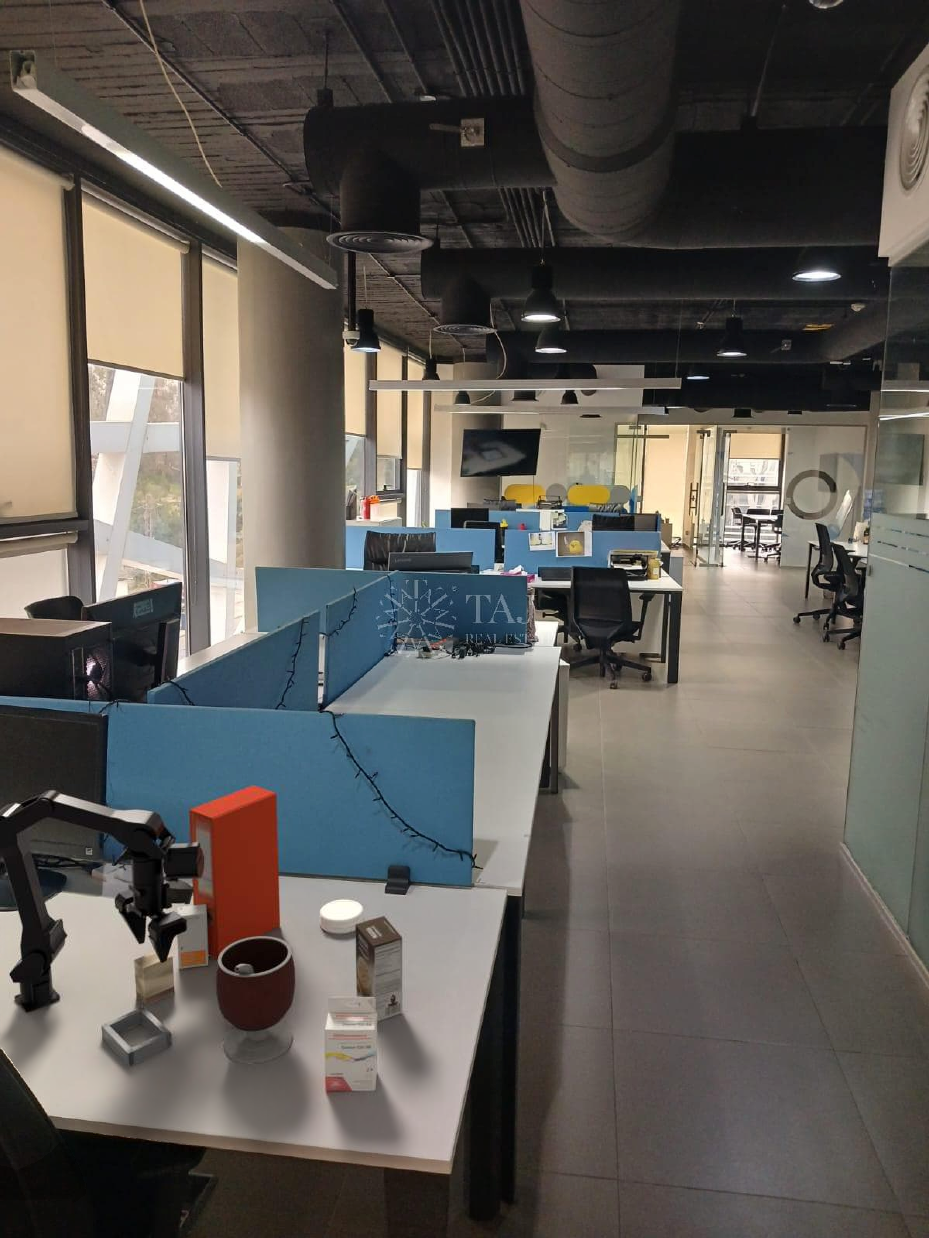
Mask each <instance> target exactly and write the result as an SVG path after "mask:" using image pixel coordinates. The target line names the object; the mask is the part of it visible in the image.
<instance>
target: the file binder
mask: <svg viewBox="0 0 929 1238" xmlns="http://www.w3.org/2000/svg"><path fill="white" fill-rule="evenodd" d="M277 797H278V795H277V793H276V792H274V791H271V790H268V789H265V788H262V787H259V786H257V785H251V786H248V787H245V788H243V789H239V790H237V791H234V792H233V793H230V794H227V795H224V796H222V797H218V798H217V799H213V800H211V801H208V802H206V803H203V804H200V805H198V806H196V807H193V808H190V809H188V812H189V813H188V815H189V816H188V817H189V837H190V838H189V839H190V843H193V842H199V843H200V848H202V851H203V854H204V870H203V875H202V877H201V878H196V879H191V880H192V881H191V882H192V884H191V885H192V887H193V888H194V890H193V894H192V899H193V900H192V901H193V905H203V904H206V905H207V932H208V957H211V958H213V959H215V960H217V961H218V957H219V955H220V953H221V952H222V951H223V950H224V949H225V948H226V947H227V946H229V945H230V944H232V943H234V942H236V941H239V940H242V939H245V938H250V937H257V936H264V935H266V934H267V932H268V933H270V932H271V931H273V930H275V929H276V927H277V928H279V927H280V925H281V917H280V916H281V913H280V912H281V911H280V910H281V909H280V908H281V907H280V880H279V879H280V875H279V874H280V873H279V872H280V870H279V843H278V842H279V839H278V838H279V837H278V836H279V835H278V834H279V833H278V805H277V803H278V802H277V801H278V798H277ZM274 928H275V929H274ZM263 934H264V935H263Z"/></svg>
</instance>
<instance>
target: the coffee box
mask: <svg viewBox="0 0 929 1238" xmlns="http://www.w3.org/2000/svg"><path fill="white" fill-rule="evenodd" d="M355 929H356V930H355V972H356V973H355V974H356V975H355V977H356V978H355V981H356V984H355V985H356V987H355V988H356V989H355V990H356V997H374V998H375V999H376V1013H377V1022H381V1021H383V1020H386V1019H390V1018H391V1017H392V1018H393V1017H394V1016H397V1015H400V1014H403V936H402V935H401V934H400V933H399V931H397V929H396V928H395V927H394V926H393V925H392V924H391V922H390V921H389V919H387V918H386V916H385V915H383V916H379V917H376V918H372V919H368V920H364V922H362V923H358V924H356V925H355Z"/></svg>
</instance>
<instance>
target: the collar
mask: <svg viewBox="0 0 929 1238" xmlns="http://www.w3.org/2000/svg"><path fill="white" fill-rule="evenodd" d="M141 1024H142V1025H143V1026H144V1027H145V1028H146V1029H147V1030H148V1031H149V1032H150V1033H151V1034H152V1035H153V1036H154V1037H152V1038H150V1039H147V1040H146V1041H144V1042H141V1043H139V1044H138V1045H135V1046H133V1047H131V1046H130V1045H128V1043H127V1042H126V1041H125V1040H124V1039H123V1038H122V1037H121V1036H120V1035H119V1034H121V1033H124V1032H125V1031H128V1030H130V1029H132V1028H133V1027H136V1026H138V1025H141ZM172 1035H173V1034H172V1032H171V1031H170V1030H169V1029H168V1028H167V1027H166V1026H165V1025H164V1024H163V1023H162V1022H160V1020H158V1018H157V1017H156V1016H155V1015H154V1014H152V1013H151V1012H150V1011H149V1010H148V1009H147V1008H146V1007H145V1005H144V1006H143V1005H142V1006H141V1007H139V1008H136V1009H134V1010H132V1011H130V1012H127V1013H125V1014H123V1015H121V1016H119V1017H117V1018H114V1019H112V1020H110V1021H109V1022H106V1023H104V1024H102V1025H101V1036H102V1039H103V1040H104V1041H105V1042H106V1043H107V1044H108V1046H109V1047H110V1048H111V1049H112V1050H113V1051H114V1052H115V1053H116V1054H117V1056H119V1058H120V1059H122V1061H123V1062H125V1064H126V1065H127V1066H128V1067H131V1066H133V1065H135V1064H138V1063H139V1062H141V1061H144V1060H145V1059H147V1058H150V1057H151V1056H153V1055H156V1054H157V1053H160V1052H161V1051H164V1050H166V1049H168V1048H170V1047H172V1046H173V1037H172Z"/></svg>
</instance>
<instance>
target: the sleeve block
mask: <svg viewBox="0 0 929 1238" xmlns="http://www.w3.org/2000/svg"><path fill="white" fill-rule="evenodd" d="M133 965H134V977H135V978H134V979H135V981H134V982H135V994H136V995H135V996H136V998H137V999H138V1000H139V1001H140V1002H141V1003H142V1004H143V1005H144V1007H145V1006H149V1005H151V1004H153V1003H155V1002H157V1001H159V1000H162V999H164V998H167V997H168V996H171V995H173V994H175V991H176V990H175V974H174V957H173V955H172V954H171V953H170V952H169V954H168V958H167V961H166V962H163V963H161V962H160V960H159V958H158V956H157V954H156V952H155V951H153V952H150V953H148V954H145V955H143V956H140V957H137V958H135V959H134V960H133Z"/></svg>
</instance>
